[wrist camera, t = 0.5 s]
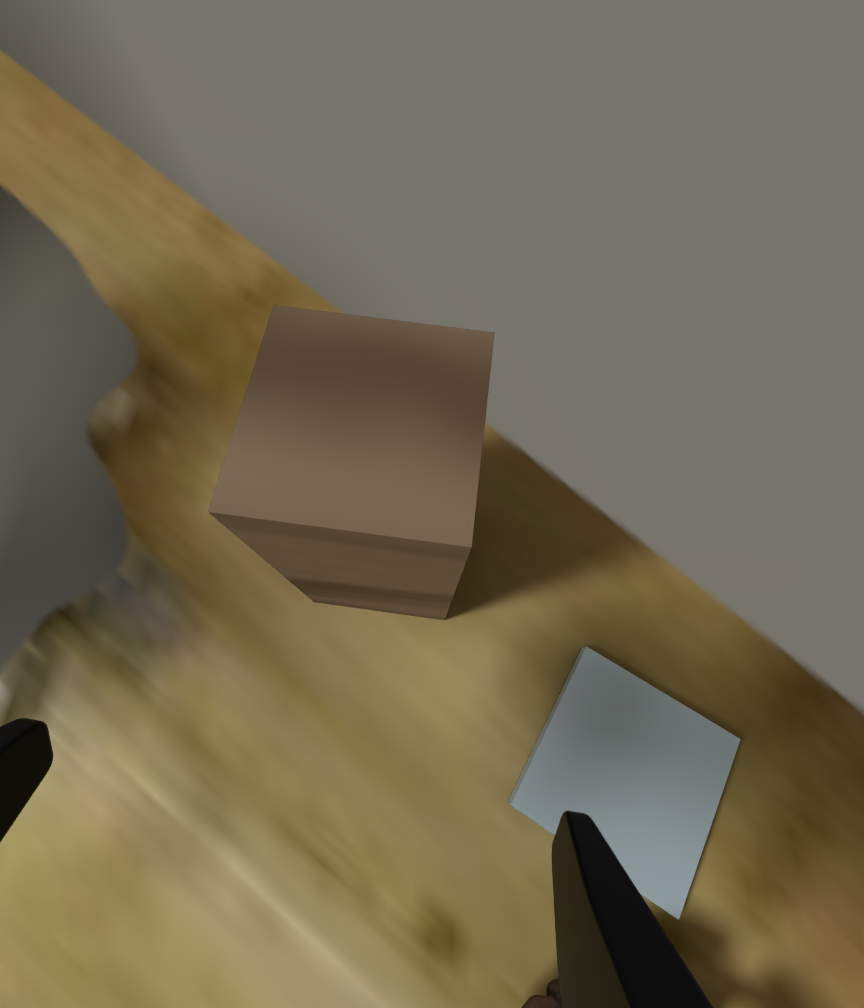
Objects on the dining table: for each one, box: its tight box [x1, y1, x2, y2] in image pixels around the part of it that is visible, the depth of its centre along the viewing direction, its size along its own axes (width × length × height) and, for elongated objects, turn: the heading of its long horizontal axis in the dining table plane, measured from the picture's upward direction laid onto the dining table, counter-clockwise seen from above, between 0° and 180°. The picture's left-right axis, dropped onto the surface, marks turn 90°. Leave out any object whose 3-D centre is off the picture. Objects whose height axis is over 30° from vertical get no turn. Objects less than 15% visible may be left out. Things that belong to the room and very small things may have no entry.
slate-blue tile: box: [508, 646, 740, 920], centre depth 20 cm, size 7×7×1 cm
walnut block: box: [208, 305, 494, 620], centre depth 18 cm, size 6×6×12 cm
